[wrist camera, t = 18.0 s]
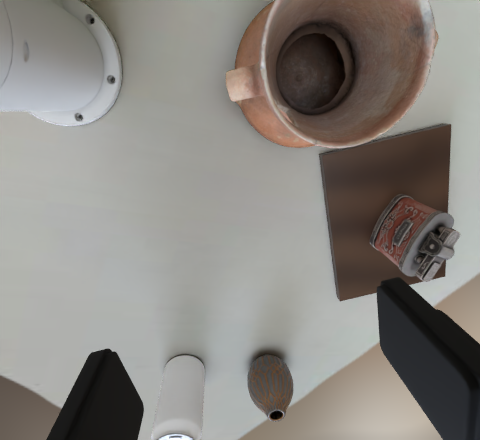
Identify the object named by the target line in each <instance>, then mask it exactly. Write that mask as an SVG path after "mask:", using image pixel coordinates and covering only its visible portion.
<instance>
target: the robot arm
mask: <svg viewBox="0 0 480 440" xmlns="http://www.w3.org/2000/svg"><path fill="white" fill-rule="evenodd" d="M92 19H94V20H95V21H94V23H93V24H92V23H91V20H92ZM112 78H115V80H116V81H115V82H114V83H113V82H112ZM121 81H122V63H121V58H120V54H119V50H118V47H117V44H116V42H115V40H114V37H113V35H112V34H111V32H110V31H109V29H108V27H107V26H106V24H105V23H104V22H103V21H102V19H101V18H100V17H99V16H98V15H97V14H96V13H95V12H94V11H93V10H92V9H91V8H89V7H88V6H87V5H86V4H84V3H83V2H82V1H80V0H0V111H27V112H29V113H30V114H31V115H33V116H35V117H37V118H39V119H41V120H43V121H45V122H48V123H52V124H55V125H62V126H78V125H83V124H88V123H90V122H93V121H95V120H97V119H99V118H100V117H102V116H103V115H104V114H106V113H107V111H108V110H109V109H110V108H111V107H112V106H113V104H114V102H115V100H116V99H117V97H118V94H119V91H120V87H121ZM80 115H82V116H83V119H81V118H80ZM377 304H378V320H379V336H380V346H381V349H382V351H383V353H384V355H385V356H386V358H387V359H388V361H389V362H390V364H391V365H392V366H393V368H394V369H395V371H396V372H397V374H398V375H399V377H400V378H401V379H402V381H403V382H404V384H405V385H406V387H407V388H408V390H409V391H410V392H411V394H412V395H413V397H414V398H415V400H416V401H417V402H418V404H419V405H420V407H421V408H422V410H423V411H424V413H425V414H426V415H427V417H428V418H429V420H430V421H431V423H432V424H433V425H434V427H435V428H436V430H437V431H438V433H439V434H440V435H441V437H442V438H443V440H480V344H479V343H478V342H477V341H475V340H474V339H473V338H472V337H471V336H470V335H469V334H468V333H466V332H465V331H464V330H463V329H462V328H461V327H460V326H459V325H457V324H456V323H455V322H454V321H453V320H452V319H451V318H450V317H448V316H447V315H446V314H445V313H443V312H442V311H440V310H436V309H434V308H433V307H432V306H431V305H430V304H429V303H428V302H427V301H426V300H424V299H423V298H422V297H421V296H420V295H419V294H418V293H417V292H416V291H415V290H413V289H412V288H411V287H410V286H409V285H408V284H407V283H406V282H405V281H404V280H402V279H401V278H400V277H396V278H391V279H387V280H383V281H381V284H380V286H378V287H377ZM143 412H144V407H143V402H142V400H141V398H140V396H139V394H138V393H137V391H136V389H135V387H134V385H133V383H132V381H131V379H130V377H129V375H128V373H127V372H126V370H125V368H124V366H123V364H122V362H121V360H120V358H119V356H118V354H117V353H116V352H112V351H111V350H110V349H104V350H100V351H96V352H92V353H91V354H90V355H89V356H88V358H87V360H86V362H85V364H84V366H83V368H82V370H81V372H80V374H79V376H78V378H77V380H76V382H75V384H74V386H73V388H72V390H71V392H70V394H69V396H68V398H67V400H66V402H65V404H64V406H63V408H62V410H61V412H60V414H59V416H58V418H57V420H56V422H55V424H54V426H53V428H52V430H51V432H50V434H49V436H48V438H47V440H137V439H138V435H139V431H140V426H141V422H142V418H143Z"/></svg>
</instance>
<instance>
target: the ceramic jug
mask: <svg viewBox="0 0 480 440" xmlns="http://www.w3.org/2000/svg"><path fill="white" fill-rule="evenodd" d="M437 42H438V34H437V32H436V30H435V22H434V17H433V13H432V10H431V6H430V3H429V0H274V1H273V2H271V3H270V4H269V5H267V6H266V7H265V8H264V9H263V10H262V11H261V12H260V13H259V14H258V15H257V16H256V17H255V18H254V19H253V20H252V22H251V23H250V25H249V26H248V28H247V29H246V31H245V33H244V35H243V37H242V40H241V42H240V45H239V48H238V52H237V56H236V62H235V69H233V70H230V71H228V72H226V87H227V90H228V93H229V97H230V99H231V100H232V101H233V102H236V103H237V104H238V105H239V106H240V107H241V109H242V111H243V113H244V115H245V117H246V118H247V120H248V121H249V123H250V124H251V125H252V126H253V127H254V128H255V129H256V130H257V131H258V132H259V133H260V134H261V135H262V136H264V137H265V138H267V139H269V140H270V141H272V142H274V143H277V144H279V145H283V146H287V147H296V148H302V147H310V146H315V145H317V146H321V147H326V148H347V147H353V146H357V145H360V144H363V143H366V142H368V141H371V140H373V139H375V138H377V137H378V136H379V135H381V134H383V133H385V132H386V131H387V130H389V129H390V128H392V127H393V126H394V125H395V124H396V123H397V122H398V121H400V120H401V118H402V117H403V116H404V115H405V114H406V113H407V112H408V111H409V109H410V108H411V107H412V106H413V104H414V103H415V101H416V100H417V98H418V97H419V95H420V93H421V91H422V90H423V88H424V86H425V83H426V81H427V78H428V75H429V72H430V63H431V60H432V58H433V55H434V49H435V47H436V44H437Z"/></svg>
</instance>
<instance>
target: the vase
mask: <svg viewBox="0 0 480 440" xmlns="http://www.w3.org/2000/svg"><path fill="white" fill-rule="evenodd" d="M248 390H249V393H250V396H251V398H252V400H253V402H254V404H255V405H256V406H257V407H258V408H259V409H260V410H261V411H262V412H264V413H265V414H266V415H267V417H268V418H269V420H271V421H275V422H276V421H280V420H282V419H283V418H284V417H285V413H286V409H287V407H288V406H289V404H290V402H291V399H292V396H293V380H292V376H291V373H290V371H289V369H288V367H287V365H286V364H285V363H284V362H283V361H282V360H281V359H280V358H278V357H276V356H273V355H263V356H260V357H259V358H257V359H256V360H255V361H254V362H253V363H252V365H251V367H250V369H249V372H248Z"/></svg>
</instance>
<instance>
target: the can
mask: <svg viewBox="0 0 480 440" xmlns="http://www.w3.org/2000/svg"><path fill="white" fill-rule="evenodd" d="M204 380H205V368H204V365H203V363H202V362H201V361H200V360H199V359H197V358H196V357H194V356H190V355H180V356H177V357H175V358H173V359H171V360H170V361H169V362H168V363H167V364H166V366H165V369H164V374H163V378H162V383H161V388H160V393H159V398H158V403H157V408H156V413H155V418H154V423H153V428H152V435H151V438H152V440H201V437H202V424H203V403H204Z"/></svg>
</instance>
